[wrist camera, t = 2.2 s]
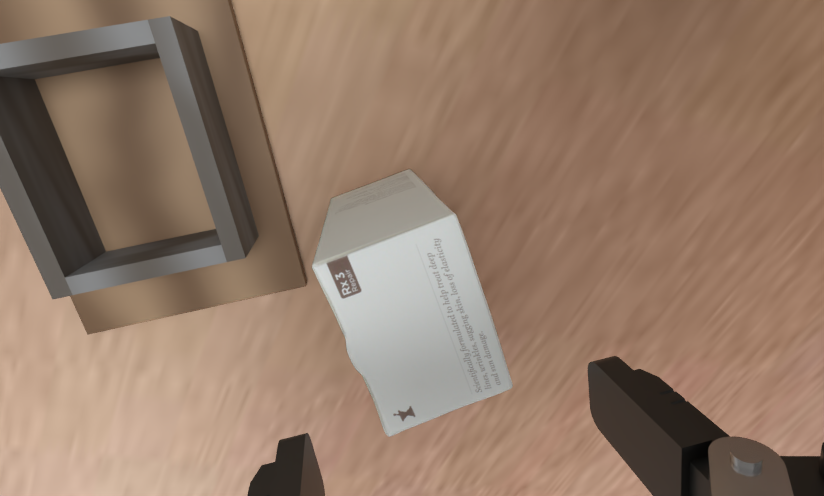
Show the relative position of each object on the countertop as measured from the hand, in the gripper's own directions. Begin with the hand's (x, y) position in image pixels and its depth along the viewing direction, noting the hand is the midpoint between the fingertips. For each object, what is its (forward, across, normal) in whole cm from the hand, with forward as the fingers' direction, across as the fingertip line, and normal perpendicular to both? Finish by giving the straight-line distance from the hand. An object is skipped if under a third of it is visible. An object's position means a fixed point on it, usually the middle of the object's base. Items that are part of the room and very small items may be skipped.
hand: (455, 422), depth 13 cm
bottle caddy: (+20, +13, -8) cm, 25 cm away
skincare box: (+20, 0, 0) cm, 20 cm away
